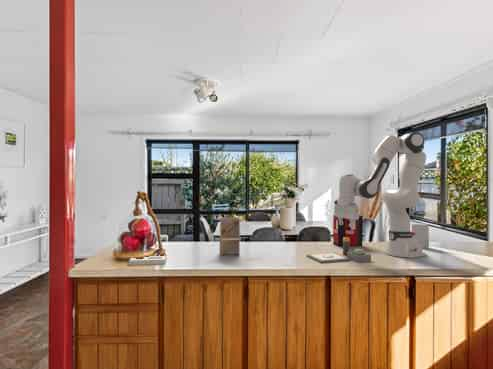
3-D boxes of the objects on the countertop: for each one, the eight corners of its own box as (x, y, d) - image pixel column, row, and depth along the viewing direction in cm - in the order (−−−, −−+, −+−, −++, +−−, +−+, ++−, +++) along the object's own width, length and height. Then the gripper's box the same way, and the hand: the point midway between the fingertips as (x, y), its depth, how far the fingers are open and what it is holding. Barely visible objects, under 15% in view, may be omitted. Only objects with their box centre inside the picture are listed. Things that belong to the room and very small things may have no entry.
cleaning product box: (338, 246, 226) (338, 216, 225) (333, 244, 235) (333, 214, 234) (362, 246, 228) (362, 216, 228) (356, 243, 237) (356, 214, 236)
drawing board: (334, 254, 202) (334, 252, 202) (350, 260, 187) (350, 258, 187) (306, 256, 196) (306, 254, 196) (321, 263, 181) (321, 260, 181)
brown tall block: (219, 254, 202) (219, 211, 202) (239, 254, 203) (239, 211, 203) (219, 257, 195) (219, 212, 194) (239, 257, 196) (240, 212, 195)
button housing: (360, 257, 195) (360, 251, 195) (370, 261, 187) (371, 254, 186) (346, 258, 192) (346, 252, 192) (356, 262, 184) (356, 255, 184)
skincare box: (429, 247, 223) (429, 223, 223) (423, 249, 220) (424, 224, 219) (416, 245, 230) (417, 222, 230) (411, 246, 227) (411, 223, 226)
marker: (346, 254, 203) (347, 237, 203) (350, 255, 200) (350, 238, 200) (341, 254, 202) (341, 237, 202) (345, 255, 199) (345, 238, 198)
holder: (143, 248, 220) (143, 243, 220) (172, 247, 223) (172, 243, 222) (129, 265, 176) (129, 260, 176) (165, 264, 178) (165, 259, 178)
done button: (359, 253, 192) (359, 248, 192) (365, 255, 188) (365, 250, 188) (352, 254, 191) (352, 249, 191) (357, 256, 186) (357, 250, 186)
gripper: (362, 203, 191) (361, 228, 192) (341, 201, 211) (340, 223, 211) (352, 203, 189) (351, 228, 190) (332, 201, 209) (331, 223, 209)
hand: (345, 226), depth 201 cm, fingers open, 8 cm apart
